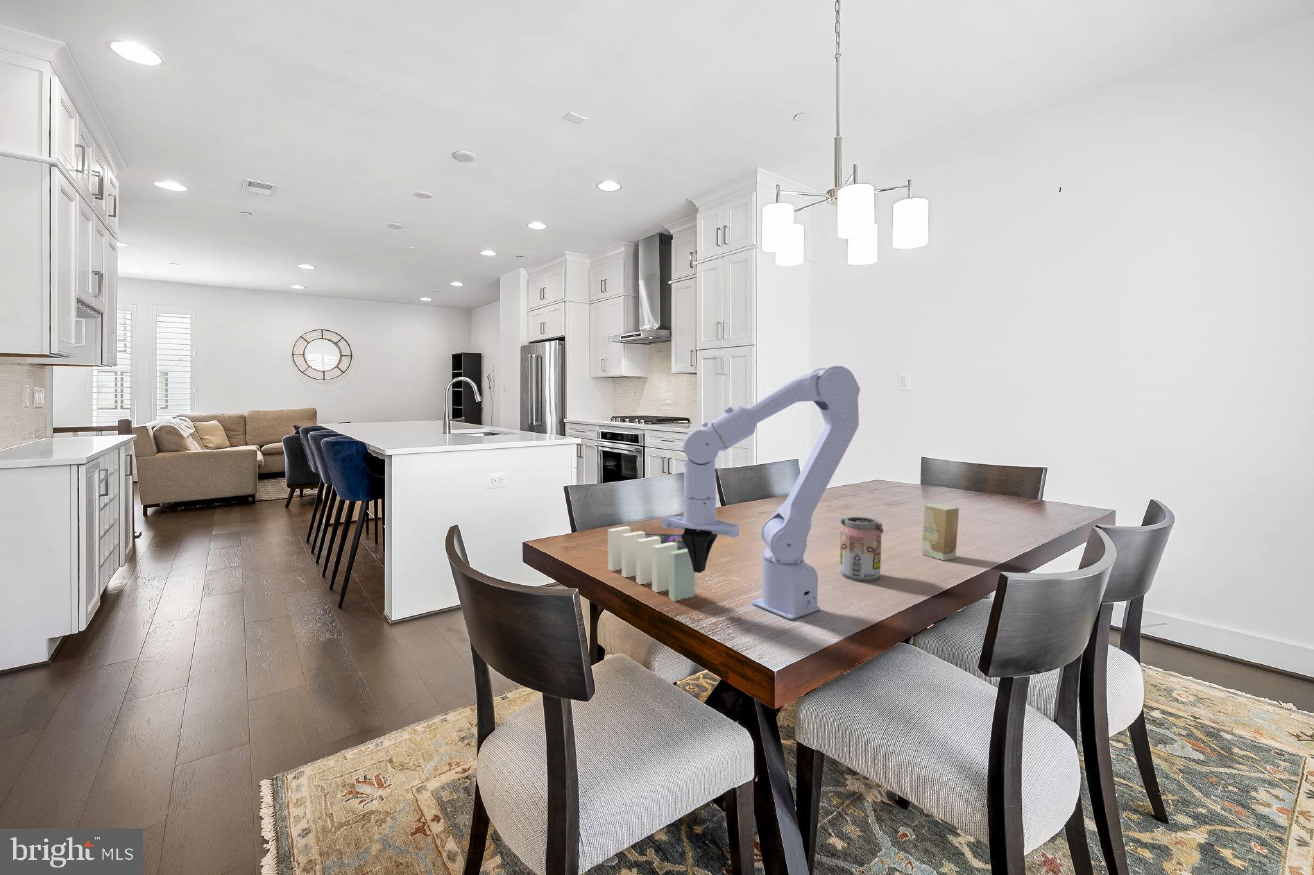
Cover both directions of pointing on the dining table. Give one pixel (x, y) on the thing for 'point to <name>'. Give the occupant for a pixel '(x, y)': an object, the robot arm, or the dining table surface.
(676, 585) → the sage domino
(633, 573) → the domino
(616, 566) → the domino
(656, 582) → the domino
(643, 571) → the domino
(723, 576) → the dining table surface
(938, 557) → the skincare box
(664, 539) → the box
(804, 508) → the robot arm
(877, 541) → the paint can
